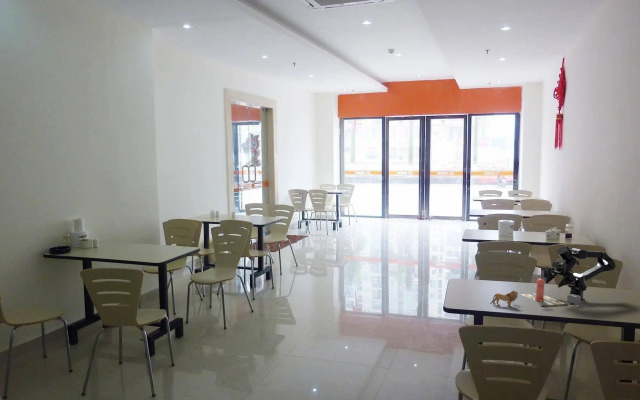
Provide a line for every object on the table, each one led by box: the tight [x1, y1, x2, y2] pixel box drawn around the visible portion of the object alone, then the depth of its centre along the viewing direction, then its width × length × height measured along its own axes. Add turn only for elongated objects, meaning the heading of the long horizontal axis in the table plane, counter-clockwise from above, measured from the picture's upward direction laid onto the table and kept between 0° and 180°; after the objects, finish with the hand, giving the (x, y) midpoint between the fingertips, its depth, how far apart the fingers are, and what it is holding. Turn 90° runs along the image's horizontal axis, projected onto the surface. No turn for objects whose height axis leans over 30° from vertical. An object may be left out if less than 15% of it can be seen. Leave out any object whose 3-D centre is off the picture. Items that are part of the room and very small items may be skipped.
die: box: [566, 294, 582, 307], centre depth 275 cm, size 5×5×5 cm
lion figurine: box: [489, 290, 519, 308], centre depth 270 cm, size 15×5×9 cm, turn 77°
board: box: [520, 292, 569, 309], centre depth 280 cm, size 16×23×1 cm
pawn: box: [534, 278, 546, 303], centre depth 276 cm, size 5×5×13 cm
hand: (552, 285), depth 279 cm, fingers open, 9 cm apart
